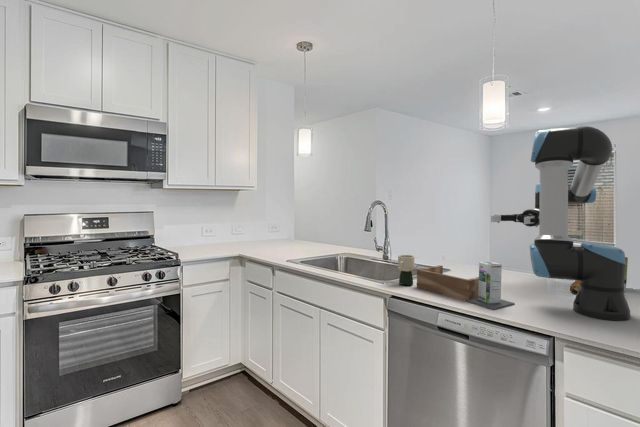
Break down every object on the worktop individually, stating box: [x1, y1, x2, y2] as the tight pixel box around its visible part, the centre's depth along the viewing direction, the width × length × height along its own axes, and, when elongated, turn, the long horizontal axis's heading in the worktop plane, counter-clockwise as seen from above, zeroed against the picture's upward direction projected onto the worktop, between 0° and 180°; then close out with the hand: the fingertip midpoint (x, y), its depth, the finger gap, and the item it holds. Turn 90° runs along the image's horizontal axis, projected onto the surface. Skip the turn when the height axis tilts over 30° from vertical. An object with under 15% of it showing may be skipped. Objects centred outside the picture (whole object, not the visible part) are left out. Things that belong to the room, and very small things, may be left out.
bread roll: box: [569, 280, 580, 296], centre depth 143 cm, size 10×10×8 cm
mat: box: [465, 298, 515, 311], centre depth 132 cm, size 12×12×1 cm
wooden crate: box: [416, 265, 479, 302], centre depth 148 cm, size 16×25×8 cm, turn 34°
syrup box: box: [478, 260, 503, 304], centre depth 132 cm, size 6×6×14 cm
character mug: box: [397, 254, 415, 286], centre depth 160 cm, size 11×7×13 cm, turn 139°
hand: (507, 219), depth 145 cm, fingers open, 13 cm apart
